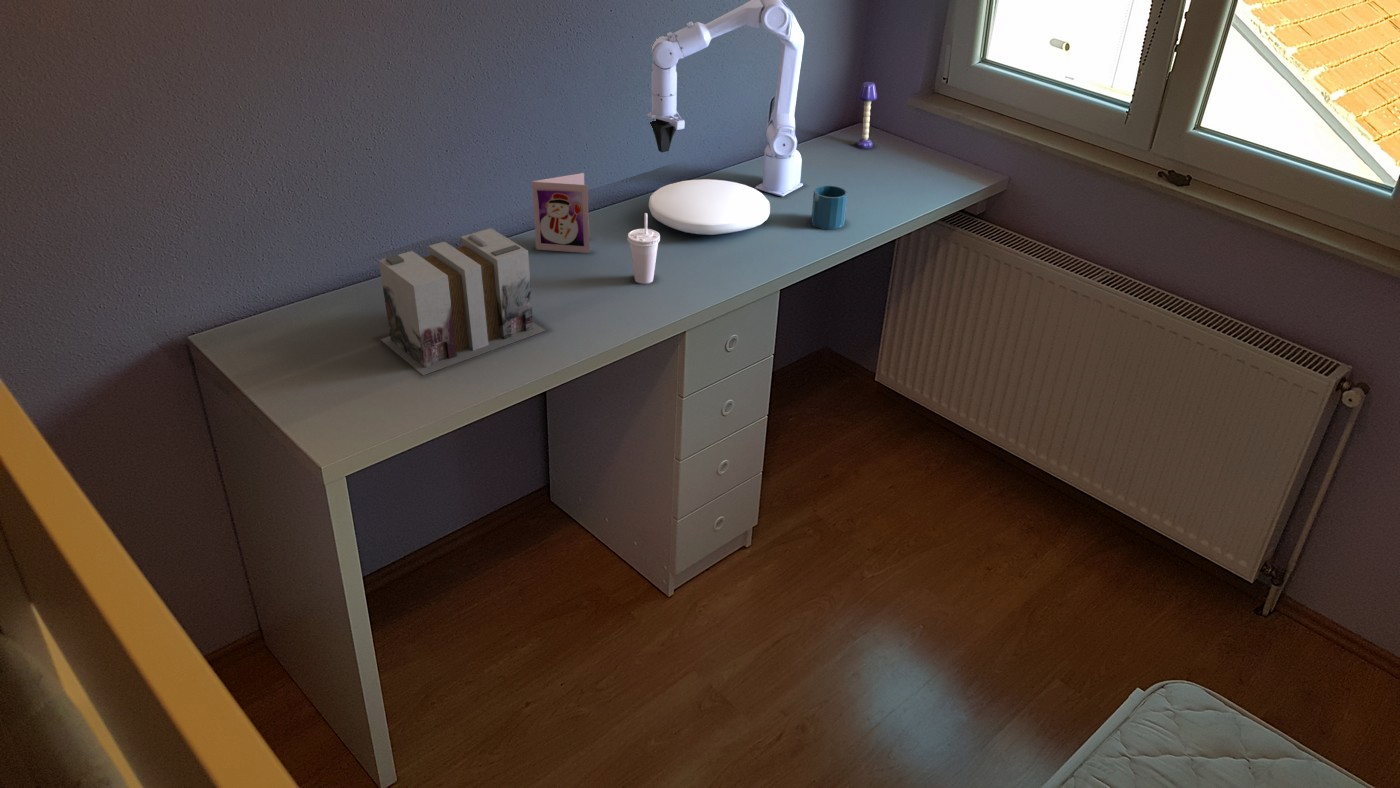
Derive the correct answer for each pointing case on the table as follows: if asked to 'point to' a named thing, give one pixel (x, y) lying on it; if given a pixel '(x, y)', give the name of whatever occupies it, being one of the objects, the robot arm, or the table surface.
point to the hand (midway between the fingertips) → (663, 150)
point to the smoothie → (643, 252)
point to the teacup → (829, 207)
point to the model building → (457, 300)
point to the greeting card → (561, 214)
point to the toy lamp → (866, 112)
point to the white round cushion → (709, 206)
